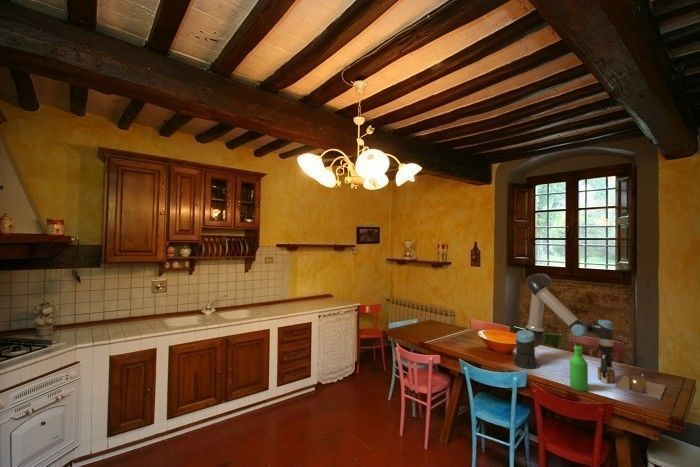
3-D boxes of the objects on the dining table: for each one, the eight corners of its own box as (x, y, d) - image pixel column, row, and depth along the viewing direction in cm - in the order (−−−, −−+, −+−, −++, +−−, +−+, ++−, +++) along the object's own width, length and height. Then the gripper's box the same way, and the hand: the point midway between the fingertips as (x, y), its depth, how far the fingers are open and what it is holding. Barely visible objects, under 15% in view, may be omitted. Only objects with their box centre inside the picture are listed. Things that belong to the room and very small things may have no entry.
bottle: (580, 385, 202) (580, 344, 203) (591, 391, 194) (591, 348, 194) (566, 385, 202) (566, 344, 203) (576, 391, 193) (576, 348, 194)
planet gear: (613, 384, 203) (613, 372, 204) (596, 379, 210) (596, 368, 210) (616, 380, 209) (616, 369, 209) (599, 376, 216) (599, 365, 216)
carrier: (660, 400, 183) (659, 385, 184) (614, 387, 199) (614, 374, 199) (665, 387, 200) (665, 373, 200) (623, 376, 215) (623, 364, 215)
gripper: (608, 350, 200) (609, 387, 199) (617, 342, 215) (618, 376, 214) (593, 347, 205) (594, 383, 205) (603, 340, 220) (603, 373, 220)
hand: (606, 379), depth 209 cm, fingers open, 11 cm apart
